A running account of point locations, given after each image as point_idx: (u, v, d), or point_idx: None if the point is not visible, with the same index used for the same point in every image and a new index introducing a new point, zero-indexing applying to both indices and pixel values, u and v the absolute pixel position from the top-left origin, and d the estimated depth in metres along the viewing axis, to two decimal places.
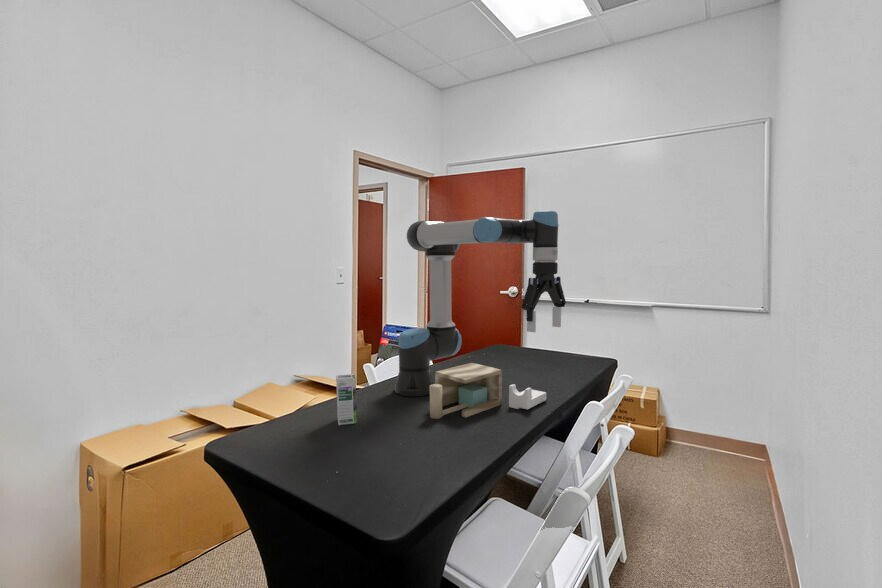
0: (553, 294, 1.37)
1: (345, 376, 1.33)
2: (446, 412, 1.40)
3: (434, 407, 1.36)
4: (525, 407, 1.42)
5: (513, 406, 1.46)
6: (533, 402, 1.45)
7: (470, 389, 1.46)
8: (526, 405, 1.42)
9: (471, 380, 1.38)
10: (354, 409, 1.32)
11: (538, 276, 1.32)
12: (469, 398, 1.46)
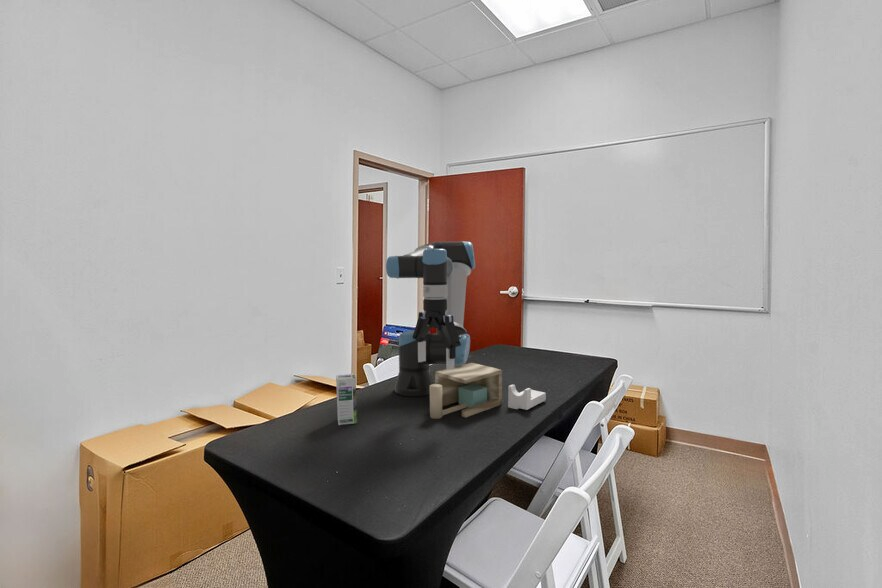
0: None
1: (345, 376, 1.33)
2: (446, 412, 1.40)
3: (434, 407, 1.36)
4: (524, 407, 1.42)
5: (512, 406, 1.45)
6: (532, 403, 1.44)
7: (470, 389, 1.46)
8: (525, 406, 1.42)
9: (471, 380, 1.38)
10: (354, 409, 1.32)
11: None
12: (469, 398, 1.46)
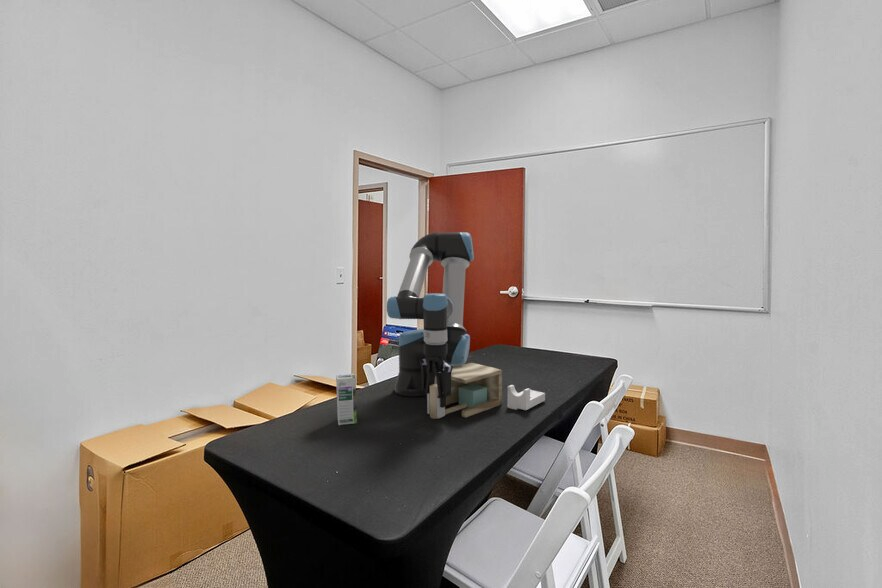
0: None
1: (345, 376, 1.33)
2: (446, 412, 1.40)
3: (434, 407, 1.36)
4: (524, 408, 1.42)
5: (511, 407, 1.45)
6: (531, 403, 1.44)
7: (470, 389, 1.46)
8: (524, 406, 1.42)
9: (471, 380, 1.38)
10: (354, 409, 1.32)
11: None
12: (469, 398, 1.46)
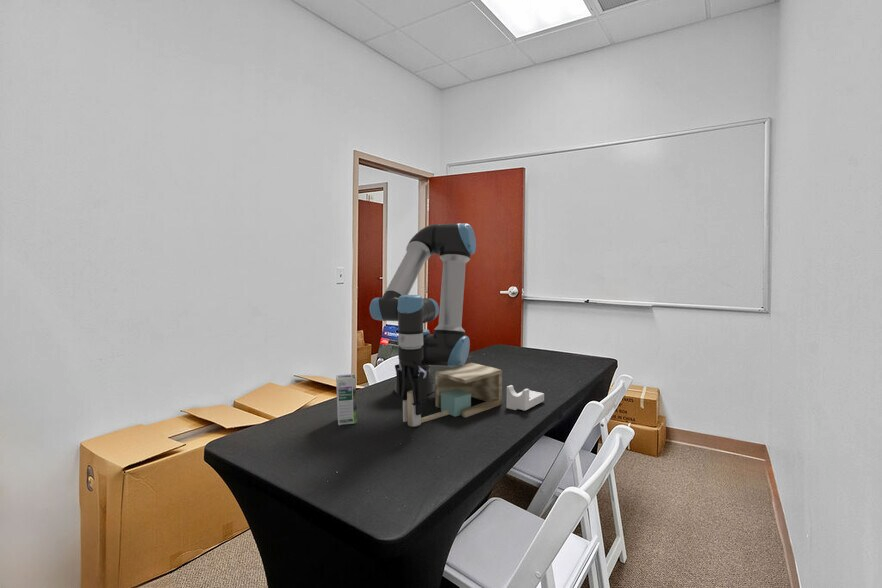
0: None
1: (345, 376, 1.33)
2: (425, 420, 1.34)
3: (411, 414, 1.30)
4: (523, 408, 1.41)
5: (510, 407, 1.45)
6: (531, 403, 1.44)
7: (452, 396, 1.40)
8: (523, 406, 1.41)
9: (471, 380, 1.38)
10: (354, 409, 1.32)
11: None
12: (451, 405, 1.39)
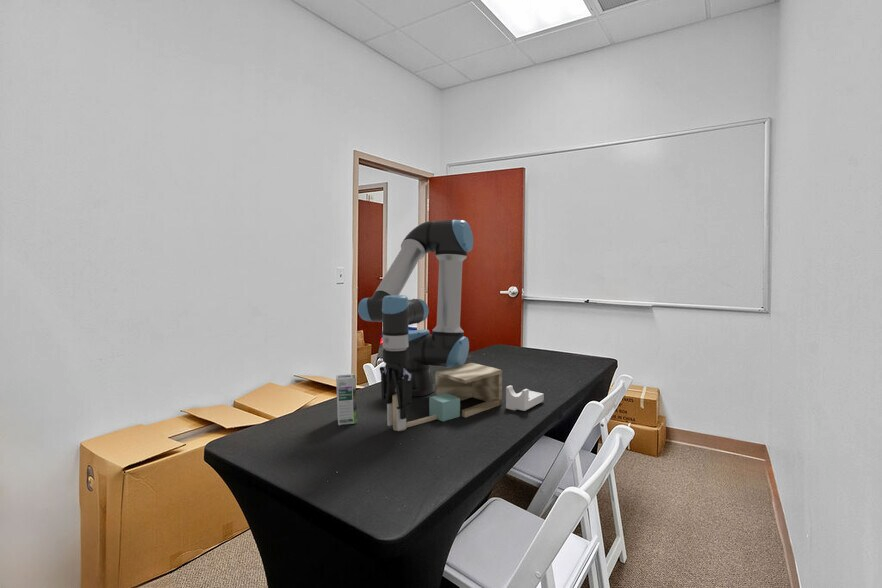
0: None
1: (345, 376, 1.33)
2: (411, 424, 1.30)
3: None
4: (522, 408, 1.41)
5: (510, 408, 1.44)
6: (530, 404, 1.43)
7: (440, 400, 1.36)
8: (523, 407, 1.41)
9: (471, 380, 1.38)
10: (354, 409, 1.32)
11: None
12: (439, 410, 1.35)
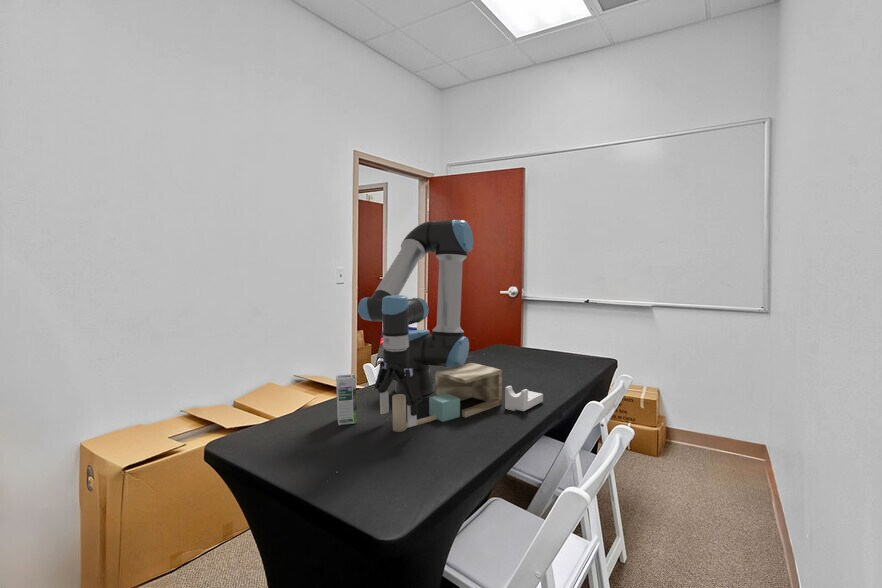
0: None
1: (345, 376, 1.33)
2: None
3: (396, 419, 1.26)
4: (521, 409, 1.41)
5: (509, 408, 1.44)
6: (529, 404, 1.43)
7: (440, 400, 1.35)
8: (522, 407, 1.41)
9: (471, 380, 1.38)
10: (354, 409, 1.32)
11: None
12: (439, 410, 1.35)
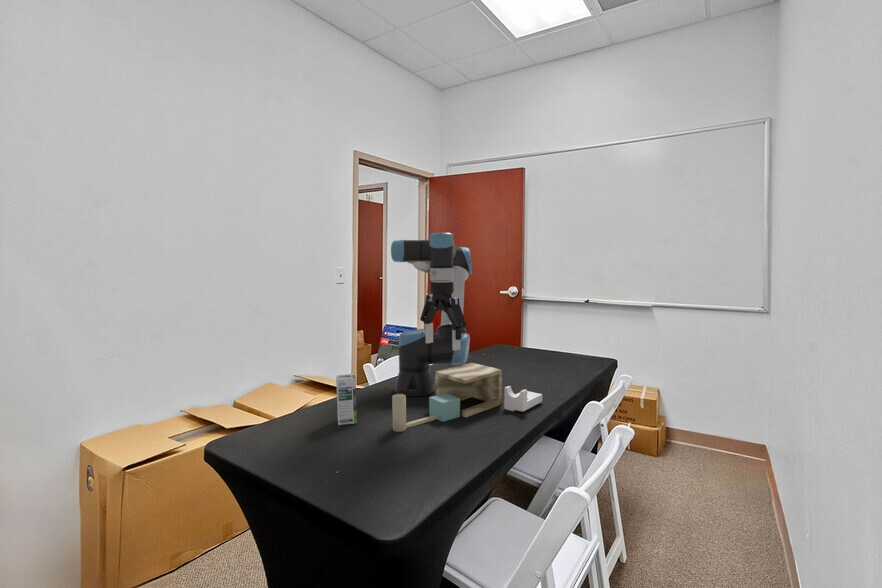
0: None
1: (345, 376, 1.33)
2: (411, 425, 1.30)
3: (396, 419, 1.26)
4: (520, 409, 1.40)
5: (508, 408, 1.44)
6: (528, 404, 1.43)
7: (440, 400, 1.35)
8: (521, 407, 1.40)
9: (471, 380, 1.38)
10: (354, 409, 1.32)
11: None
12: (439, 410, 1.35)
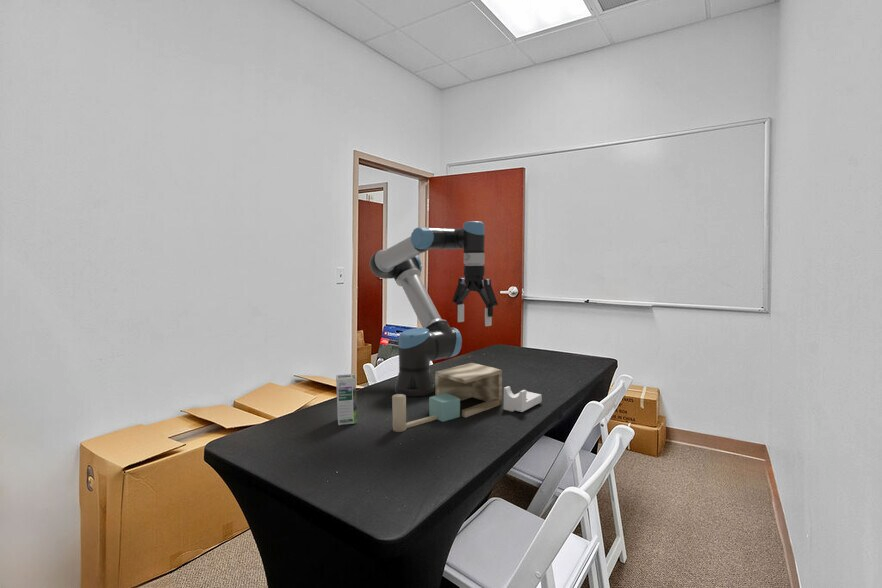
0: None
1: (345, 376, 1.33)
2: (411, 425, 1.30)
3: (396, 419, 1.26)
4: (520, 410, 1.40)
5: (507, 409, 1.43)
6: (528, 405, 1.42)
7: (440, 400, 1.35)
8: (520, 408, 1.40)
9: (471, 380, 1.38)
10: (354, 409, 1.32)
11: None
12: (439, 410, 1.35)
